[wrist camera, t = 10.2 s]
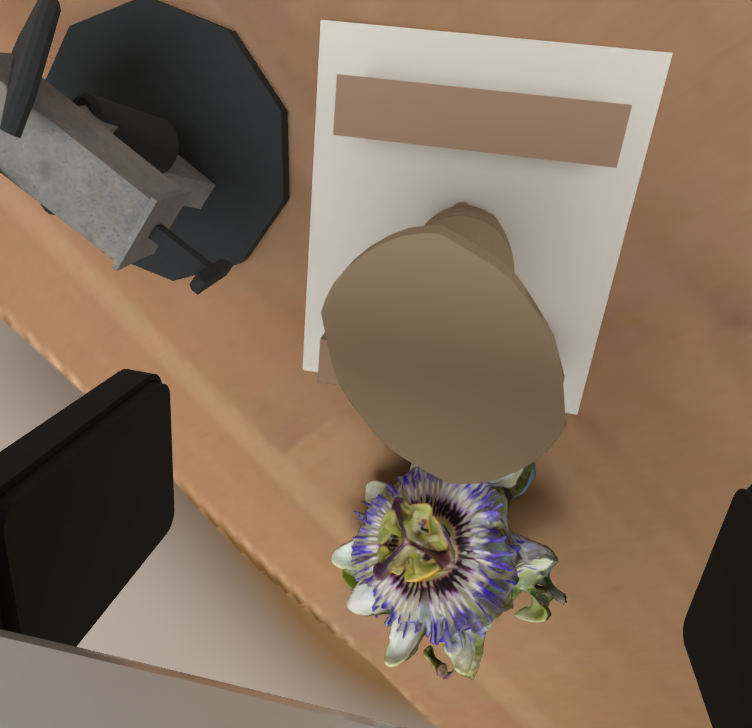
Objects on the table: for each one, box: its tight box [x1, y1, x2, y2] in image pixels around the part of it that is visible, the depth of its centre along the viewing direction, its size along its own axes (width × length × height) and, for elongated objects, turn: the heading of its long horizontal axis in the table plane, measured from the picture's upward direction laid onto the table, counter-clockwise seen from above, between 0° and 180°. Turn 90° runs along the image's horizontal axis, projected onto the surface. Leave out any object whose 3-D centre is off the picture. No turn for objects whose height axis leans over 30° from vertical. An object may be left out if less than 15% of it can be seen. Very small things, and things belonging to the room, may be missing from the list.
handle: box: [321, 202, 566, 484], centre depth 21 cm, size 5×6×15 cm
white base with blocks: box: [303, 20, 673, 415], centre depth 26 cm, size 16×14×6 cm
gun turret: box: [0, 0, 289, 295], centre depth 24 cm, size 13×20×13 cm, turn 52°
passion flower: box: [331, 461, 567, 680], centre depth 32 cm, size 11×11×12 cm
